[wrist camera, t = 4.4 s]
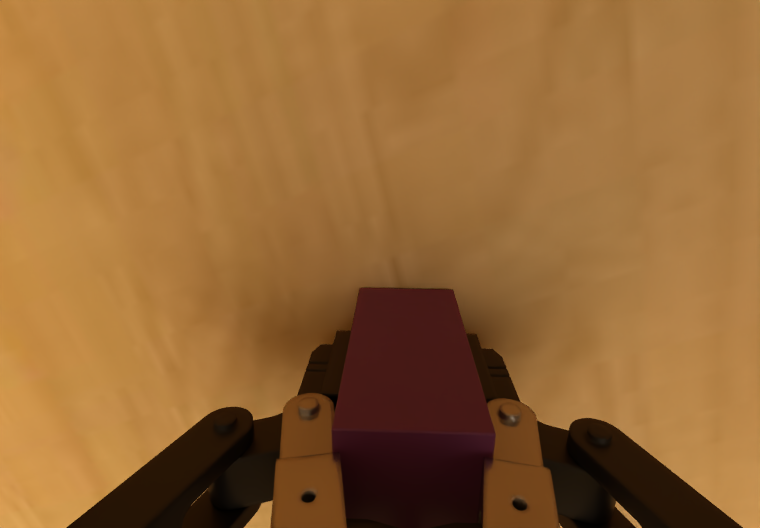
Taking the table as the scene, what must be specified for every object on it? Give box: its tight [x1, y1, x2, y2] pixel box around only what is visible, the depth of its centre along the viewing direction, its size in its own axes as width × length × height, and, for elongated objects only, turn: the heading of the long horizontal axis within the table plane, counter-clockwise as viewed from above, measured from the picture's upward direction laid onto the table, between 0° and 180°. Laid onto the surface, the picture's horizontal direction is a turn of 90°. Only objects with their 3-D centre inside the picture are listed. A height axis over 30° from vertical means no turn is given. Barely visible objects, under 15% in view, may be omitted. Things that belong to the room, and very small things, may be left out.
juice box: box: [331, 288, 496, 528], centre depth 12 cm, size 4×3×9 cm
